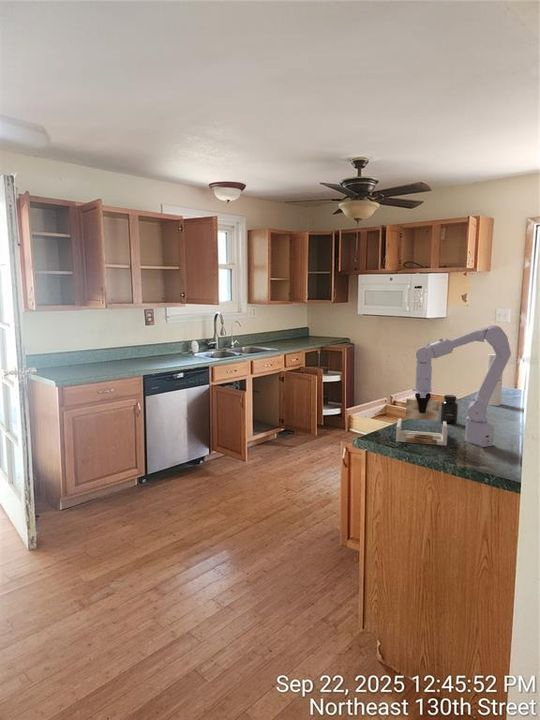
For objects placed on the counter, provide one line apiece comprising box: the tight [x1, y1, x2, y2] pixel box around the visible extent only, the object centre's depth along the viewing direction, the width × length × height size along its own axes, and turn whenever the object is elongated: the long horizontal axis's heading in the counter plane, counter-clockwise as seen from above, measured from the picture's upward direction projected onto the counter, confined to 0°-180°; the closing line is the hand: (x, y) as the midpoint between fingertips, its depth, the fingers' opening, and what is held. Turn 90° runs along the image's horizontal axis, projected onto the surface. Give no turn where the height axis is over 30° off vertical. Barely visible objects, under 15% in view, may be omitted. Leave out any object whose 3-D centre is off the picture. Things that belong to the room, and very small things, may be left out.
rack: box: [395, 418, 448, 446], centre depth 183 cm, size 18×14×6 cm
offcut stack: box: [405, 434, 437, 445], centre depth 179 cm, size 11×3×2 cm, turn 72°
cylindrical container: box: [486, 353, 504, 407], centre depth 238 cm, size 7×7×25 cm
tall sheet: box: [405, 398, 440, 421], centre depth 185 cm, size 12×2×8 cm, turn 72°
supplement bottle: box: [439, 394, 459, 426], centre depth 205 cm, size 7×7×12 cm
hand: (422, 412), depth 186 cm, fingers closed on tall sheet, 2 cm apart
